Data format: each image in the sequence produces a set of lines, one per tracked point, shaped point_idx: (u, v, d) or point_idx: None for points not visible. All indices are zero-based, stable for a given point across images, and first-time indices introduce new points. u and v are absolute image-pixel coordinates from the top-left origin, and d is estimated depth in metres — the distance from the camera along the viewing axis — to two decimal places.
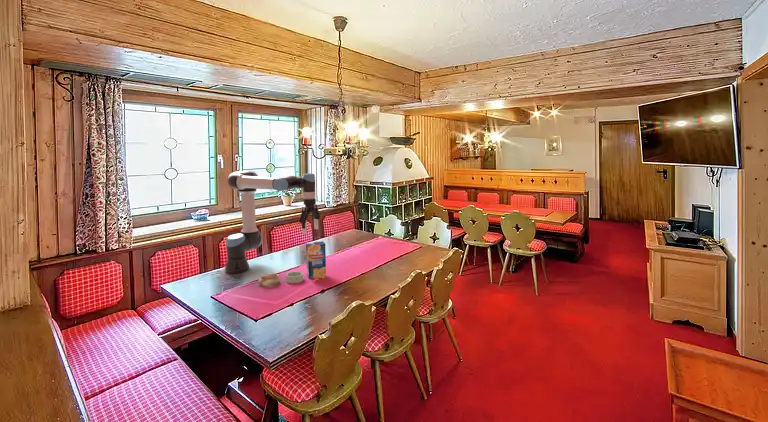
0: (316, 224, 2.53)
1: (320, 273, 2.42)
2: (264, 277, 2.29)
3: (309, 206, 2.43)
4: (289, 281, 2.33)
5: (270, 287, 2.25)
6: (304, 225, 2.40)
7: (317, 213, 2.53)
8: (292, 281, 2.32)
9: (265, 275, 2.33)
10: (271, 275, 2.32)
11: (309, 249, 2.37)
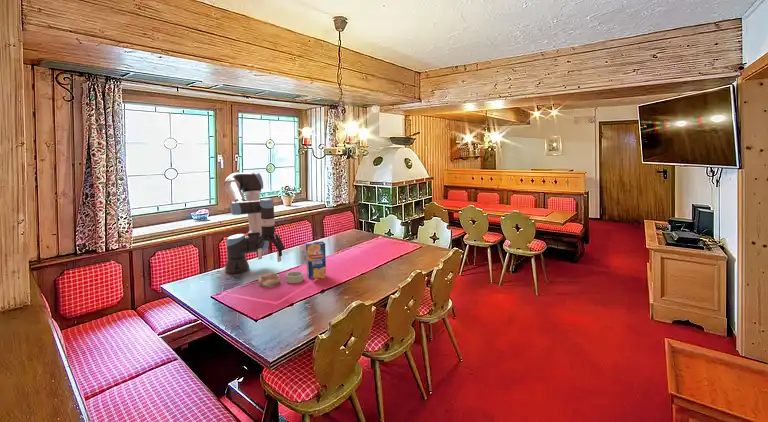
0: None
1: (320, 273, 2.42)
2: (264, 277, 2.29)
3: (264, 233, 2.27)
4: (289, 281, 2.33)
5: (270, 287, 2.25)
6: (257, 250, 2.31)
7: (279, 245, 2.25)
8: (292, 281, 2.32)
9: (265, 275, 2.33)
10: (271, 275, 2.32)
11: (309, 249, 2.37)
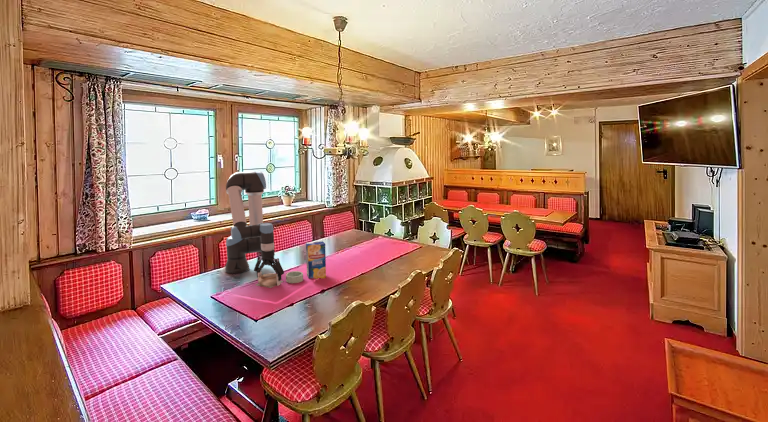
0: None
1: (320, 273, 2.42)
2: (264, 277, 2.29)
3: (264, 257, 2.29)
4: (289, 281, 2.33)
5: (270, 287, 2.25)
6: (257, 274, 2.33)
7: None
8: (292, 281, 2.32)
9: (265, 275, 2.33)
10: (271, 275, 2.32)
11: (309, 249, 2.37)
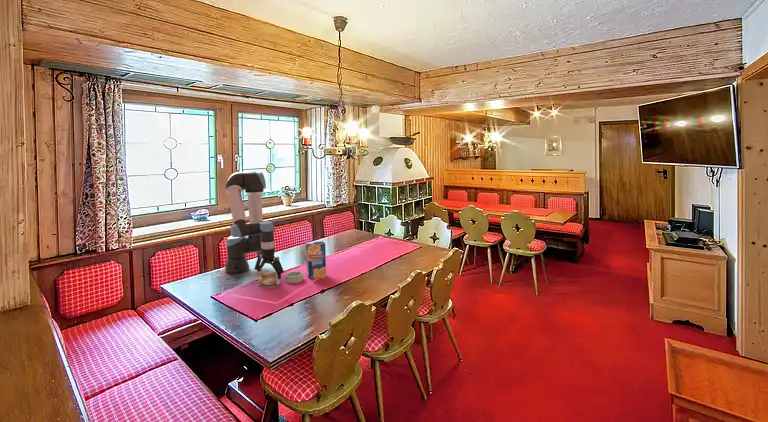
0: None
1: (320, 273, 2.42)
2: (264, 276, 2.29)
3: (264, 255, 2.29)
4: (290, 281, 2.32)
5: (270, 287, 2.25)
6: (258, 272, 2.33)
7: (278, 268, 2.27)
8: (293, 281, 2.32)
9: (265, 273, 2.33)
10: (271, 274, 2.32)
11: (309, 249, 2.37)
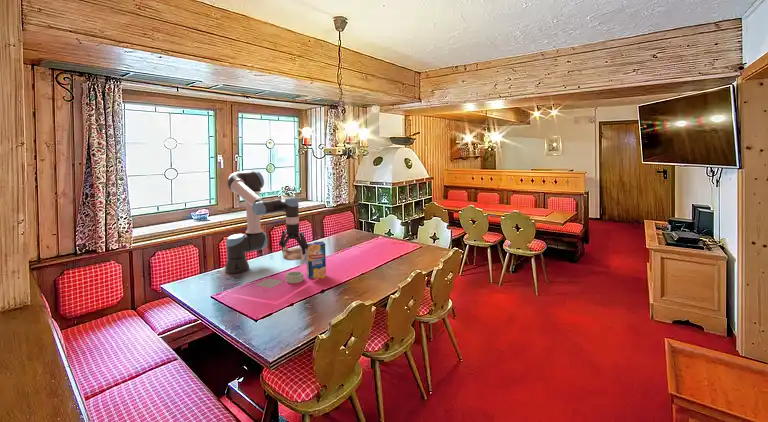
0: None
1: (320, 273, 2.42)
2: (289, 251, 2.32)
3: (288, 231, 2.32)
4: (291, 281, 2.32)
5: (270, 287, 2.25)
6: (282, 248, 2.36)
7: (303, 243, 2.30)
8: (294, 280, 2.32)
9: (289, 249, 2.35)
10: (296, 250, 2.35)
11: (309, 249, 2.37)
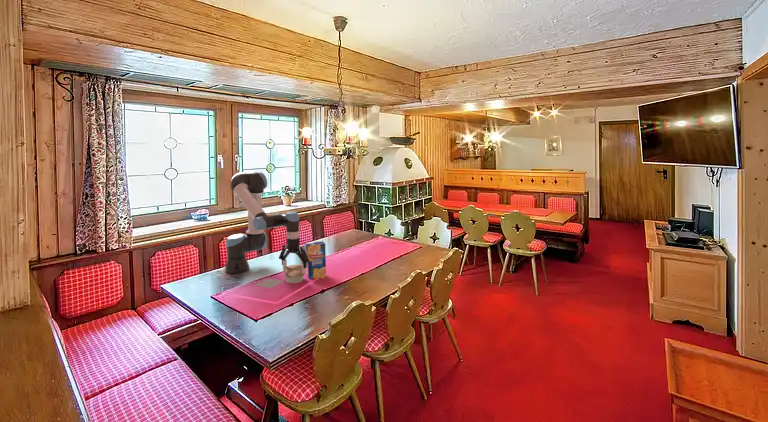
0: None
1: (320, 273, 2.42)
2: (290, 268, 2.34)
3: (289, 245, 2.33)
4: (292, 281, 2.32)
5: (270, 287, 2.25)
6: (282, 262, 2.38)
7: None
8: (295, 281, 2.32)
9: (291, 266, 2.37)
10: (297, 266, 2.37)
11: (309, 249, 2.37)
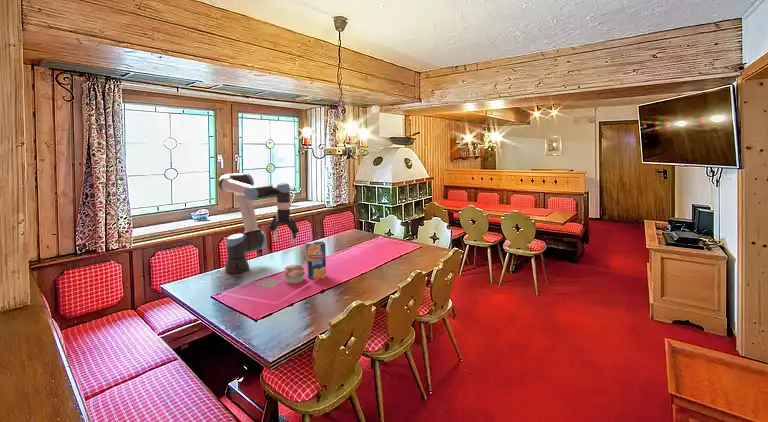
0: None
1: (320, 273, 2.42)
2: (290, 268, 2.34)
3: (279, 216, 2.39)
4: (292, 281, 2.32)
5: (270, 287, 2.25)
6: None
7: None
8: (295, 281, 2.32)
9: (290, 266, 2.37)
10: (296, 266, 2.37)
11: (309, 249, 2.37)
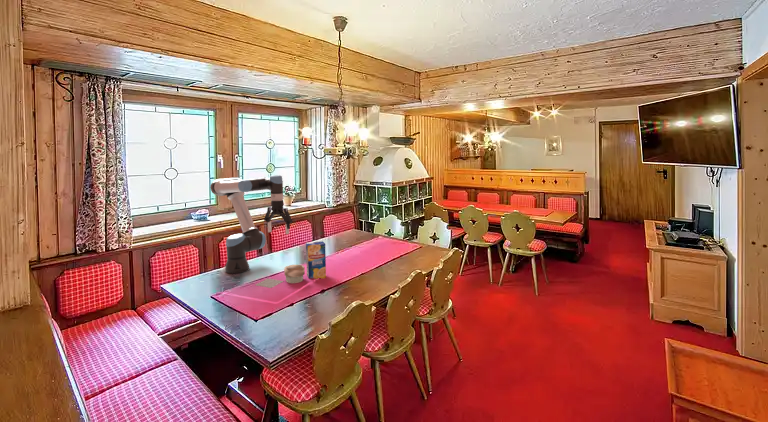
0: None
1: (320, 273, 2.42)
2: (290, 268, 2.34)
3: (273, 207, 2.45)
4: (292, 281, 2.32)
5: (270, 287, 2.25)
6: (267, 223, 2.50)
7: (287, 218, 2.43)
8: (295, 281, 2.32)
9: (290, 266, 2.37)
10: (296, 266, 2.37)
11: (309, 249, 2.37)
